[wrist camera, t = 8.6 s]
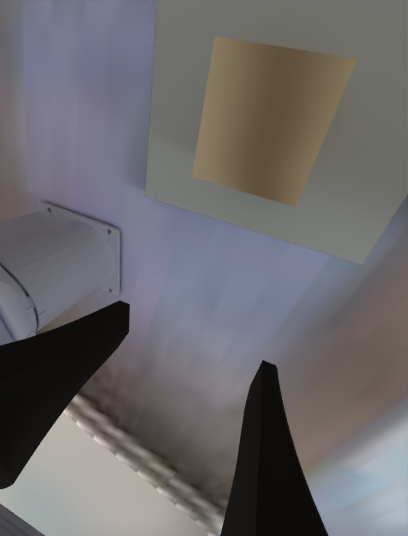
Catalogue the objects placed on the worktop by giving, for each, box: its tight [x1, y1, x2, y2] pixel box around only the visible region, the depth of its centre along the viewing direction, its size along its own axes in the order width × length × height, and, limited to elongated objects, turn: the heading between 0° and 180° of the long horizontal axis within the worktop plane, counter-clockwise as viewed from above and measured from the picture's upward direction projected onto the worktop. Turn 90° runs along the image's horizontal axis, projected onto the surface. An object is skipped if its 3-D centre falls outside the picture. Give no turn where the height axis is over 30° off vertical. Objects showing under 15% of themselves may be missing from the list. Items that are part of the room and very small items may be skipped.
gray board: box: [145, 0, 408, 265], centre depth 14 cm, size 16×12×1 cm
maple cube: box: [192, 36, 357, 207], centre depth 12 cm, size 5×5×5 cm
